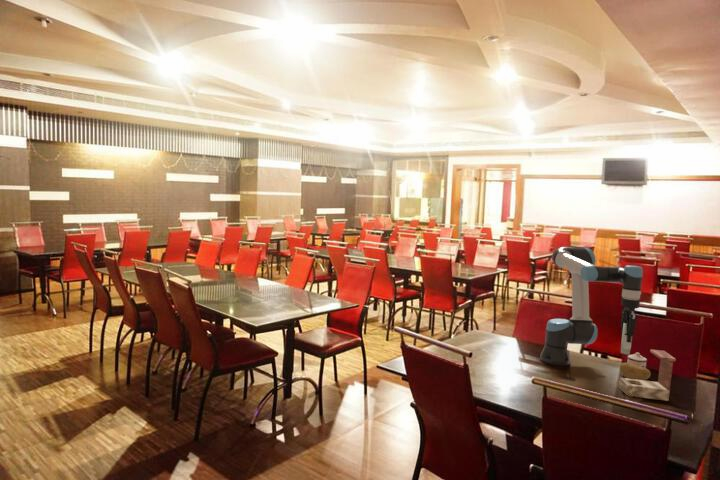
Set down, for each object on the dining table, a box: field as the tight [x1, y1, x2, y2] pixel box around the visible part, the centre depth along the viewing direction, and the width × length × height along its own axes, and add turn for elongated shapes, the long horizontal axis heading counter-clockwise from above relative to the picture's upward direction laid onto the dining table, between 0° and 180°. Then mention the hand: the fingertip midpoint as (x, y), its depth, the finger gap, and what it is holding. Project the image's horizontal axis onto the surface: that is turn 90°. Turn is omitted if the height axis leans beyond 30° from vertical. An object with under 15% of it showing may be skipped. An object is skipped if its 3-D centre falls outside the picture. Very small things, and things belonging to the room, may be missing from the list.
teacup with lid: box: [626, 352, 648, 369], centre depth 253 cm, size 12×9×12 cm
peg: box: [620, 323, 631, 355], centre depth 225 cm, size 4×4×14 cm
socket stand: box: [618, 349, 677, 402], centre depth 224 cm, size 18×12×20 cm, turn 80°
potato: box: [619, 362, 652, 381], centre depth 243 cm, size 10×14×8 cm
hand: (625, 347), depth 225 cm, fingers closed on peg, 4 cm apart
